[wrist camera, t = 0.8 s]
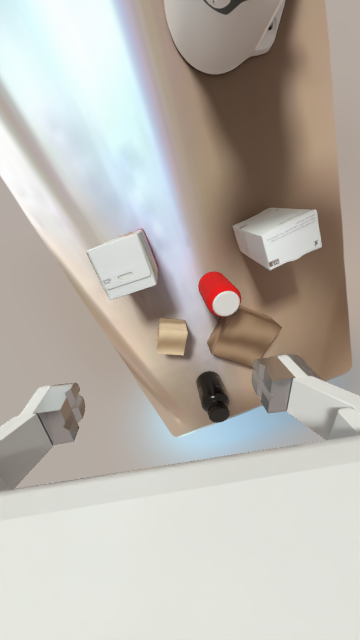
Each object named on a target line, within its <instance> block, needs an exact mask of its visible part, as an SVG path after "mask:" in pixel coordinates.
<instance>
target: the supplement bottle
mask: <svg viewBox="0 0 360 640" xmlns="http://www.w3.org/2000/svg"><path fill="white" fill-rule="evenodd" d="M197 388H198V392H199V396H200V400H201V404H202V407H203V409H204V410H205V411H206V412H207V413H208V415H209V418H210V420H211V421H213V422H216V423H217V422H223V421H224V420H226V419H227V418H228V417H229V410H228V404H229V399H228V396H227V393H226V391H225V388H224V386H223V384H222V381H221V379H220V377H219V375H218V374H217V373H215V372H211V371H208V372H204V373H202V374H201V375H200V376H199V377H198V378H197Z"/></svg>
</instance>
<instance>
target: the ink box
mask: <svg viewBox="0 0 360 640" xmlns="http://www.w3.org/2000/svg"><path fill="white" fill-rule="evenodd" d="M86 253H87V255H88V257H89V260H90V262H91V264H92V266H93V268H94V270H95V272H96V274H97V276H98V278H99V280H100V282H101V284H102V286H103V288H104V290H105V292H106V294H107V296H108V298H109V300H112V299H115V298H118V297H122V296H125V295H128V294H131V293H134V292H137V291H140V290H143V289H146V288H149V287H152V286H155V285H156V284H157V278H158V266H157V263H156V260H155V257H154V255H153V252H152V249H151V247H150V244H149V242H148V239H147V236H146V234H145V232H144V230H143V229H139V230H137V231H134V232H131V233H128V234H125V235H123V236H120V237H117V238H115V239H112V240H110V241H107V242H105V243H103V244H101V245H99V246H96V247H94V248H92V249H90V250H88V251H86Z"/></svg>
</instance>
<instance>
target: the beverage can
mask: <svg viewBox="0 0 360 640" xmlns="http://www.w3.org/2000/svg"><path fill="white" fill-rule="evenodd" d="M199 292H200V294H201V295H202V297H203V299H204V301H205V303H206V305H207V307H208V309H209V310H210V312H211V313H213V314H214V315H216V316H220V317H225V316H230V315H232V314H233V313H235V312H236V311H237V309H238V308H239V306H240V303H241V295H240V292H239V290H238V289H237V288H236V287H235V286H234V285H233V284H232V283H231V282H230V281H229V280H228V279H227V278H226V277H225V276H223V275H222V274H221V273H219V272H209V273H207V274H205V275H204V276H203V277H202V278H201V279H200V282H199Z"/></svg>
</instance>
